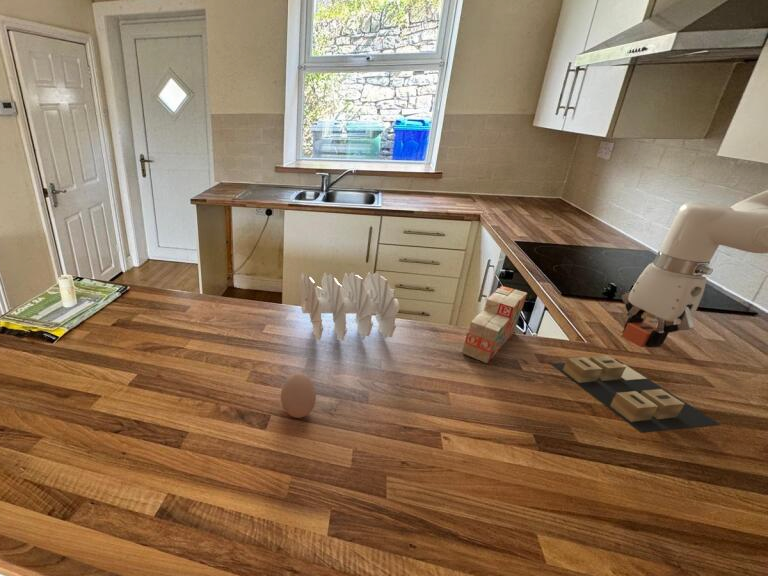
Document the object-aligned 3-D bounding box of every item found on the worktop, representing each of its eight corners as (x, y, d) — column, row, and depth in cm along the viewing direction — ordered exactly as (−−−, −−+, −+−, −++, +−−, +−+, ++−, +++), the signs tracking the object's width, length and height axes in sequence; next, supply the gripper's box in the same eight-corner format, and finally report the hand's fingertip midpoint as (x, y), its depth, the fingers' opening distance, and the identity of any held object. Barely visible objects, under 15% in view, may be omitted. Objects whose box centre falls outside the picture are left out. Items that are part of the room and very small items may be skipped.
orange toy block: (638, 335, 92) (645, 321, 90) (658, 346, 88) (666, 332, 86) (621, 336, 91) (627, 322, 90) (640, 347, 87) (648, 333, 86)
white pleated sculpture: (392, 353, 107) (301, 354, 104) (376, 300, 118) (292, 299, 115) (421, 313, 93) (316, 312, 90) (399, 258, 104) (305, 255, 101)
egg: (291, 398, 84) (293, 359, 80) (319, 411, 81) (324, 372, 77) (273, 416, 79) (275, 377, 75) (303, 432, 76) (307, 391, 72)
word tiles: (602, 367, 95) (608, 354, 93) (676, 417, 80) (685, 403, 78) (562, 370, 93) (567, 357, 92) (630, 421, 79) (638, 407, 77)
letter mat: (615, 360, 98) (616, 358, 98) (719, 426, 79) (721, 424, 78) (549, 365, 96) (550, 363, 96) (639, 435, 76) (641, 432, 76)
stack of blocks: (487, 364, 96) (502, 320, 91) (460, 353, 100) (473, 310, 95) (514, 332, 110) (528, 292, 104) (489, 323, 114) (502, 284, 108)
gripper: (745, 280, 74) (696, 361, 82) (653, 249, 90) (619, 320, 97) (711, 282, 73) (665, 363, 81) (623, 250, 89) (592, 321, 96)
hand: (640, 339), depth 89 cm, fingers closed on orange toy block, 4 cm apart
